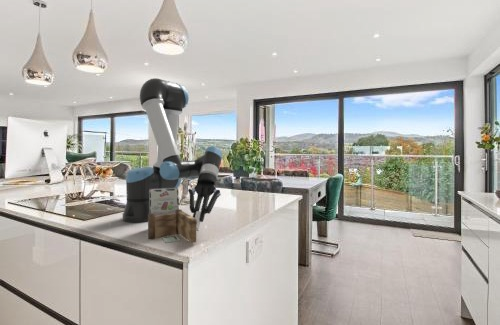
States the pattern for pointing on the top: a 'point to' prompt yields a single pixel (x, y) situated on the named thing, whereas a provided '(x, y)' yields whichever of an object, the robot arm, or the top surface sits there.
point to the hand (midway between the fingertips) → (195, 228)
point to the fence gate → (187, 226)
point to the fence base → (162, 225)
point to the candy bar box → (163, 200)
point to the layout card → (170, 239)
